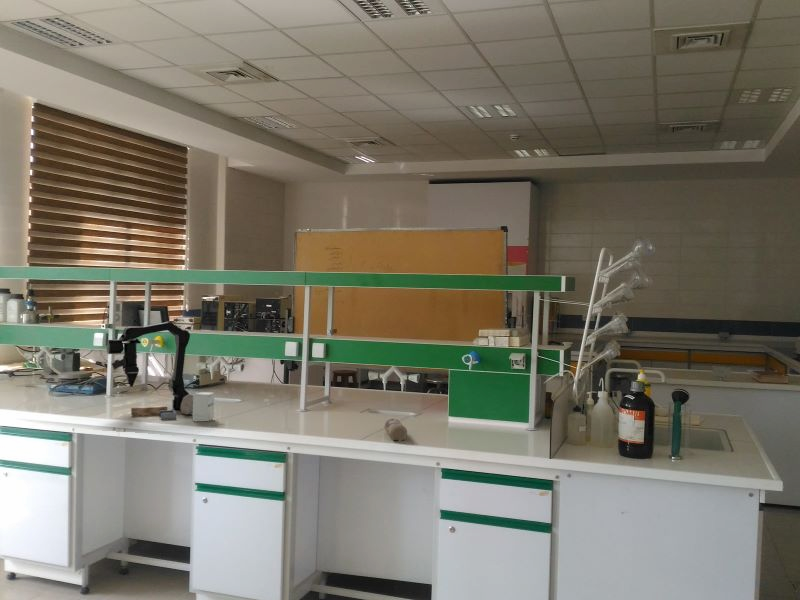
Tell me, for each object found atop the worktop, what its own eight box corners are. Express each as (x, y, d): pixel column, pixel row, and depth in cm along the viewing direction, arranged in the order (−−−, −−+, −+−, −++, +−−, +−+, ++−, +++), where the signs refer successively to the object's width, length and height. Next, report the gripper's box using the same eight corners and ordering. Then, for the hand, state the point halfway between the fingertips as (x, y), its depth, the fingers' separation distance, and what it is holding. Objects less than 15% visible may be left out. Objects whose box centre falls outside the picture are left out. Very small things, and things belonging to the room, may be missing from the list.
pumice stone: (213, 414, 353) (213, 394, 353) (204, 417, 346) (204, 396, 345) (185, 412, 357) (186, 392, 357) (176, 415, 350) (177, 394, 350)
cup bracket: (173, 416, 346) (173, 410, 346) (176, 419, 339) (176, 412, 339) (159, 417, 343) (159, 410, 343) (161, 419, 336) (161, 413, 336)
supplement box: (207, 422, 333) (207, 394, 333) (192, 421, 334) (192, 393, 334) (214, 419, 340) (214, 392, 340) (199, 418, 342) (200, 391, 341)
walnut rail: (166, 413, 354) (166, 405, 354) (167, 415, 351) (167, 406, 351) (131, 415, 347) (131, 407, 347) (131, 416, 344) (132, 408, 344)
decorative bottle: (407, 441, 302) (408, 425, 302) (389, 441, 301) (390, 425, 301) (398, 429, 327) (398, 414, 327) (381, 429, 326) (382, 414, 326)
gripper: (111, 351, 357) (111, 383, 357) (113, 355, 340) (113, 389, 340) (135, 351, 361) (135, 382, 362) (138, 354, 344) (139, 387, 345)
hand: (130, 385), depth 352 cm, fingers open, 9 cm apart
